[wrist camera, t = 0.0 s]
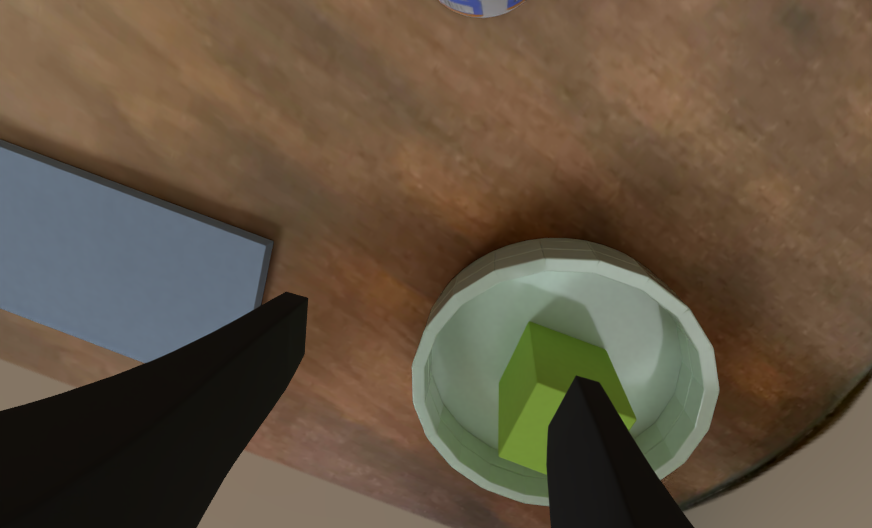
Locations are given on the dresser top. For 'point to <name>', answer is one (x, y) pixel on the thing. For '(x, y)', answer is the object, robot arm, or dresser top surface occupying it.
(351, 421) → the dresser top surface
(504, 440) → the cube
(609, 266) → the basin
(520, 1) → the pill bottle
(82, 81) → the dresser top surface
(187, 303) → the mat
